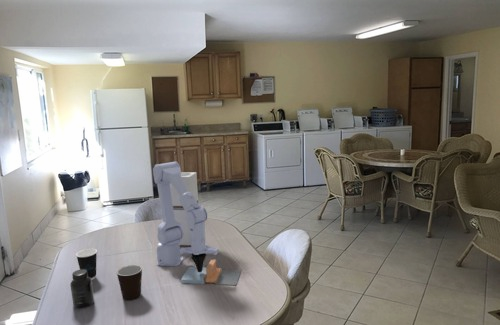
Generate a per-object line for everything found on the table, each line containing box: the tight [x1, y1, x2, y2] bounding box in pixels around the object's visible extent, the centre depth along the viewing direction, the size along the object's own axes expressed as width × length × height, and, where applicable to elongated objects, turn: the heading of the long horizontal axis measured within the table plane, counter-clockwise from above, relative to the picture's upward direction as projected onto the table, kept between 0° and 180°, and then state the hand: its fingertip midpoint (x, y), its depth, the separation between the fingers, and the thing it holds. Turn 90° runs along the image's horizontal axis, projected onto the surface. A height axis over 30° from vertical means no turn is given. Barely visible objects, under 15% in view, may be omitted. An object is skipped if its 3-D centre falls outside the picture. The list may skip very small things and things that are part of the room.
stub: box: [205, 259, 222, 284], centre depth 151 cm, size 4×10×5 cm, turn 172°
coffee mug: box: [116, 264, 143, 302], centre depth 140 cm, size 12×9×10 cm
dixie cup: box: [75, 248, 98, 281], centre depth 154 cm, size 8×8×11 cm
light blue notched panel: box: [180, 266, 207, 285], centre depth 152 cm, size 9×11×2 cm
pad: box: [215, 269, 242, 286], centre depth 150 cm, size 8×12×1 cm, turn 172°
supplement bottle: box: [70, 269, 95, 310], centre depth 134 cm, size 7×7×12 cm
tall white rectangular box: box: [170, 171, 199, 249], centre depth 184 cm, size 11×11×35 cm
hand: (200, 271), depth 152 cm, fingers closed
